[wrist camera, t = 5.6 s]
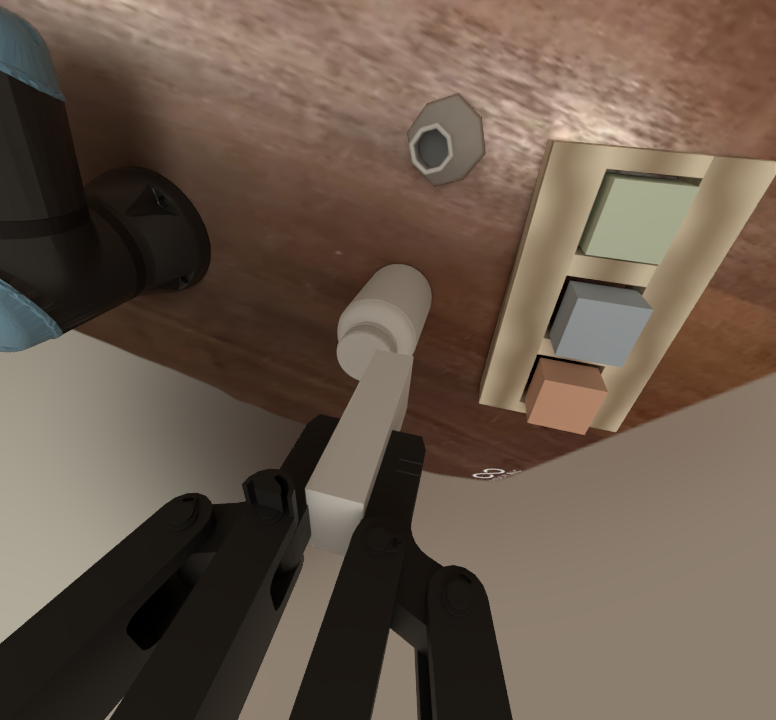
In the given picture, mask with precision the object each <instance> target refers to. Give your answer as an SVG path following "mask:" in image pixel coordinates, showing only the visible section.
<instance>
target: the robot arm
mask: <svg viewBox="0 0 776 720" xmlns="http://www.w3.org/2000/svg"><path fill="white" fill-rule="evenodd" d="M64 102H66V98H65V95H64V94H63V93H62V92H61V90H60V87H59V84H58V81H57V77H56V74H55V70H54V67H53V63H52V60H51V56H50V53H49V50H48V47H47V45H46V43H45V41H44V39H43V38H42V36H41V35H40V33H39V32H38V31H37V30H36V29H35V28H34V27H33V26H32V25H31V24H30V23H29V22H28V21H27V20H25V19H24V18H23V17H21V16H19V15H18V14H16V13H15V12H12V11H10V10H8V9H6V8H4V7H1V6H0V352H17V351H22V350H25V349H28V348H30V347H33V346H35V345H37V344H40V343H42V342H45V341H47V340H49V339H55V338H58V337H60V336H61V335H62V334H64V333H66V332H68V331H70V330H72V329H74V328H76V327H78V326H80V325H82V324H84V323H86V322H88V321H90V320H92V319H94V318H95V317H97V316H99V315H101V314H103V313H105V312H107V311H109V310H111V309H113V308H115V307H117V306H119V305H121V304H123V303H125V302H127V301H129V300H131V299H133V298H135V297H137V296H140V295H149V294H159V293H169V292H177V291H180V290H183V289H185V288H187V287H189V286H191V285H193V284H195V283H197V282H198V281H199V280H200V279H201V278H202V277H203V276H204V275H205V273H206V271H207V269H208V265H209V260H210V247H209V241H208V237H207V233H206V230H205V227H204V225H203V223H202V221H201V219H200V217H199V215H198V213H197V211H196V210H195V208H194V207H193V205H192V204H191V202H190V201H189V200H188V199H187V197H186V196H185V195H184V194H183V193H182V192H181V191H180V190H179V189H178V188H177V187H176V186H175V185H174V184H172V183H171V182H170V181H169V180H167V179H166V178H164V177H163V176H161V175H159V174H157V173H155V172H153V171H151V170H148V169H144V168H139V167H128V168H120V169H113V170H110V171H107V172H105V173H103V174H101V175H100V176H98V177H97V178H95V179H94V180H92V181H91V182H89V183H88V184H87V185H85V186H84V187H83V183H82V179H81V175H80V171H79V167H78V162H77V158H76V153H75V149H74V144H73V140H72V135H71V131H70V126H69V122H68V117H67V113H66V108H65V104H64ZM412 365H413V356H408V355H403V354H398V353H393V352H387V351H382V350H377V349H376V351H375V353H374V355H373V357H372V359H371V361H370V363H369V365H368V367H367V368H366V370H365V372H364V374H363V376H362V378H361V380H360V382H359V384H358V386H357V388H356V390H355V392H354V394H353V396H352V398H351V400H350V402H349V404H348V406H347V407H346V409H345V411H344V413H343V415H342V417H341V419H339V418H334V417H330V416H325V415H321V414H320V415H318V416H317V417H316V418H314V419H313V420H312V421H310V422H309V423H308V424H307V425H306V427H305V429H304V430H303V432H302V434H301V436H300V438H298V440H297V442H296V444H295V445H294V448H292V450H291V451H290V453H289V455H288V456H287V458H286V460H285V461H284V463H283V465H282V466H281V468H280V469H266V470H262V471H258V472H257V473H255V474H253V475H251V476H249V477H248V479H247V480H246V481H245V482H244V483H243V484H242V487H243V491H244V495H245V498H246V501H245V502H239V503H226V504H212V503H211V501H210V500H209V499H208V498H207V497H206V496H205V495H202V494H199V493H187V494H184V495H181V496H178V497H176V498H174V499H172V500H171V501H170V502H168V503H166V504H165V505H164V506H163V507H161V508H160V509H159V510H158V511H157V512H155V513H154V514H153V515H152V516H151V517H150V518H148V519H147V520H146V521H145V522H144V523H142V524H141V525H140V526H139V527H138V528H137V529H135V530H134V531H133V532H132V533H131V534H129V535H128V536H127V537H126V538H125V539H124V540H122V541H121V542H120V543H119V544H118V545H116V546H115V547H114V548H113V549H112V550H111V551H109V552H108V553H107V554H106V555H105V556H103V557H102V558H101V559H100V560H99V561H98V562H96V563H95V564H94V565H93V566H92V567H90V568H89V569H88V570H87V571H86V572H85V573H83V574H82V575H81V576H80V577H79V578H78V579H76V580H75V581H74V582H73V583H72V584H70V585H69V586H68V587H67V588H66V589H64V590H63V591H62V592H61V593H60V594H59V595H57V596H56V597H55V598H54V599H53V600H51V601H50V602H49V603H48V604H47V605H46V606H44V607H43V608H42V609H41V610H40V611H39V612H38V613H36V614H35V615H34V616H32V617H31V618H30V619H29V620H28V621H27V622H25V623H24V624H23V625H22V626H21V627H20V628H18V629H17V630H16V631H15V632H14V633H12V634H11V635H10V636H9V637H8V638H7V639H5V640H4V641H3V642H2V643H1V644H0V720H104V719H105V718H106V717H107V716H108V715H109V713H110V712H111V711H112V710H113V709H114V707H115V706H116V705H117V704H118V703H119V702H120V700H121V699H122V698H123V697H124V698H123V699H122V701H121V703H120V704H119V705H118V707H117V709H116V710H115V712H114V713H113V715H112V716H111V718H110V720H238V718H239V715H240V713H241V710H242V708H243V706H244V703H245V701H246V699H247V696H248V694H249V692H250V689H251V687H252V685H253V682H254V680H255V678H256V675H257V673H258V671H259V668H260V666H261V663H262V661H263V659H264V656H265V654H266V652H267V649H268V647H269V645H270V642H271V640H272V637H273V635H274V633H275V631H276V628H277V626H278V623H279V621H280V619H281V616H282V614H283V612H284V609H285V607H286V605H287V602H288V600H289V598H290V595H291V593H292V590H293V588H294V586H295V583H296V581H297V579H298V576H299V574H300V572H301V569H302V566H303V562H304V555H303V553H304V550H305V548H306V546H307V544H308V541H309V539H310V540H311V546H312V547H315V548H319V549H322V550H326V551H329V552H332V553H336V554H339V555H342V556H345V558H344V561H343V564H342V566H341V569H340V572H339V576H338V578H337V581H336V584H335V587H334V590H333V593H332V596H331V599H330V601H329V604H328V607H327V610H326V613H325V616H324V619H323V622H322V625H321V628H320V631H319V633H318V636H317V639H316V642H315V645H314V648H313V651H312V654H311V657H310V660H309V663H308V665H307V668H306V671H305V674H304V677H303V680H302V683H301V686H300V689H299V692H298V695H297V697H296V700H295V703H294V706H293V709H292V712H291V715H290V718H289V720H371V717H372V713H373V708H374V703H375V698H376V693H377V688H378V683H379V678H380V674H381V669H382V664H383V659H384V654H385V649H386V644H387V640H388V635H389V630H390V628H391V629H392V630H393V631H395V632H396V633H397V634H398V635H400V636H401V637H402V638H403V639H404V640H406V641H407V642H408V643H409V644H410V645H412V646H413V647H414V648H415V669H416V670H415V671H416V692H417V715H418V720H513V719H512V714H511V710H510V704H509V699H508V695H507V690H506V685H505V680H504V675H503V670H502V665H501V660H500V656H499V650H498V645H497V640H496V635H495V630H494V625H493V620H492V615H491V611H490V606H489V600H488V597H487V594H486V591H485V589H484V586H483V584H482V583H481V582H480V581H479V579H478V578H477V577H476V575H475V574H473V573H472V572H470V571H469V570H467V569H466V568H463V567H459V566H455V565H452V566H445V567H443V566H442V565H440V564H439V563H437V562H436V561H434V560H433V559H431V558H430V557H428V556H427V555H426V554H425V553H424V552H422V551H421V550H420V548H419V547H418V546H417V544H416V543H415V541H414V538H413V536H412V531H411V522H412V517H413V512H414V507H415V502H416V497H417V493H418V487H419V483H420V478H421V473H422V467H423V462H424V457H425V452H426V449H425V446H424V442H423V439H422V437H421V436H417V435H412V434H408V433H403V432H400V429H401V426H402V423H403V419H404V416H405V413H406V409H407V403H408V395H409V388H410V380H411V372H412Z"/></svg>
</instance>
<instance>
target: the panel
mask: <svg viewBox="0 0 776 720" xmlns="http://www.w3.org/2000/svg"><path fill="white" fill-rule="evenodd" d="M606 169H615V170H625V171H635V172H645V173H655V174H665V175H675V176H679V178H678V180H679V181H682V182H685V183H688V184H692V185H695V186H698V187H700V189H699V191H698V193H697V195H696V197H695V199H694V201H693V203H692V204H691V206H690V208H689V210H688V212H687V214H686V216H685V218H684V220H683V222H682V224H681V226H680V227H679V229H678V231H677V233H676V235H675V237H674V239H673V241H672V243H671V245H670V247H669V249H668V250H667V252H666V254H665V256H664V258H663V260H662V262H661V264H660V265H658V264H651V263H643V262H636V261H629V260H622V259H614V258H607V257H600V256H593V255H585V253H584V252H583V250H582V249H581V247H580V246H579V245H578V244H579V241H580V238H581V236H582V233H583V230H584V228H585V225H586V222H587V219H588V217H589V214H590V211H591V209H592V206H593V203H594V201H595V198H596V195H597V193H598V190H599V187H600V185H601V182H602V179H603V177H604V174H605V171H606ZM775 175H776V161H770V160H763V159H756V158H747V157H736V156H725V155H714V154H703V153H692V152H681V151H670V150H659V149H648V148H637V147H626V146H615V145H604V144H593V143H582V142H571V141H560V140H549V139H548V142H547V146H546V150H545V153H544V157H543V160H542V164H541V167H540V171H539V175H538V178H537V182H536V185H535V189H534V193H533V196H532V200H531V203H530V207H529V210H528V214H527V218H526V221H525V225H524V228H523V232H522V236H521V239H520V243H519V246H518V250H517V253H516V257H515V261H514V264H513V268H512V271H511V275H510V279H509V282H508V286H507V289H506V293H505V296H504V300H503V304H502V307H501V311H500V314H499V318H498V322H497V325H496V329H495V332H494V336H493V339H492V343H491V347H490V350H489V354H488V357H487V361H486V365H485V368H484V372H483V375H482V379H481V382H480V394H479V403H480V404H485V405H489V406H494V407H499V408H504V409H508V410H513V411H518V412H523V413H526V406H525V396H526V394H527V391H528V389H529V386H530V385H529V384H526V383H527V380H528V377H529V375H530V372H531V369H532V367H533V364H534V361H535V359H536V356H537V354H541V355H546V356H551V357H557V358H562V359H568V360H573V361H579V362H584V363H589V364H588V366H589V367H594V368H598V369H599V372H600V374H601V376H602V379H603V381H604V383H605V386H606V388H607V391H608V393H607V395H606V397H605V399H604V401H603V403H602V404H601V406H600V408H599V410H598V412H597V413H596V415H595V417H594V419H593V421H592V422H591V424H590V426H589V427H594V428H598V429H603V430H608V431H613V432H616V431H617V430H618V428H619V426H620V425H621V423H622V422H623V420H624V418H625V417H626V415H627V414H628V412H629V410H630V409H631V407H632V405H633V404H634V402H635V401H636V399H637V397H638V396H639V394H640V393H641V391H642V389H643V388H644V386H645V385H646V383H647V381H648V380H649V378H650V376H651V375H652V373H653V372H654V370H655V368H656V367H657V365H658V364H659V362H660V360H661V359H662V357H663V356H664V354H665V352H666V351H667V349H668V347H669V346H670V344H671V343H672V341H673V339H674V338H675V336H676V335H677V333H678V331H679V330H680V328H681V327H682V325H683V323H684V322H685V320H686V318H687V317H688V315H689V314H690V312H691V310H692V309H693V307H694V306H695V304H696V302H697V301H698V299H699V298H700V296H701V294H702V293H703V291H704V289H705V288H706V286H707V285H708V283H709V281H710V280H711V278H712V277H713V275H714V273H715V272H716V270H717V269H718V267H719V265H720V264H721V262H722V260H723V259H724V257H725V256H726V254H727V252H728V251H729V249H730V248H731V246H732V244H733V243H734V241H735V240H736V238H737V236H738V235H739V233H740V231H741V230H742V228H743V227H744V225H745V223H746V222H747V220H748V219H749V217H750V215H751V214H752V212H753V211H754V209H755V207H756V206H757V204H758V202H759V201H760V199H761V198H762V196H763V194H764V193H765V191H766V190H767V188H768V186H769V185H770V183H771V182H772V180H773V178H774V177H775ZM566 276H574V277H581V278H588V279H594V280H601V281H608V282H615V283H621V284H627V285H626V287H625V289H630V290H637V291H638V292H639V293H640V294H641V295H642V297H643V298H644V299H645V300H646V301H647V302H648V304H649V305H650V306H651V307H652V308H653V312H652V314H651V316H650V317H649V319H648V321H647V323H646V325H645V327H644V328H643V330H642V332H641V334H640V336H639V337H638V339H637V341H636V343H635V345H634V346H633V348H632V350H631V352H630V354H629V355H628V357H627V359H626V361H625V363H624V365H623V366H622V368H621V367H616V366H610V365H605V364H600V363H594V362H589V361H583V360H578V359H572V358H567V357H561V356H556V355H555V354H554V350H553V346H552V343H551V339H550V335H549V334H550V331H551V328H552V326H553V323H549V321H550V318H551V316H552V313H553V310H554V308H555V305H556V302H557V300H558V297H559V294H560V292H561V289H562V286H563V284H564V281H565V278H566Z"/></svg>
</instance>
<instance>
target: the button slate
mask: <svg viewBox="0 0 776 720" xmlns="http://www.w3.org/2000/svg"><path fill="white" fill-rule="evenodd" d="M652 312H653V308H652V307H651V306H650V305H649V304H648V302H647V301H646V300H645V299H644V298H643V297H642V295H641V294H640V293H639V292H638V291H637V290H630V289H624V288H617V287H610V286H604V285H597V284H590V283H584V282H577V281H569V284H568V287H567V289H566V292H565V294H564V297H563V300H562V302H561V305H560V308H559V310H558V313H557V315H556V318H555V321H554V323H553V326H552V328H551V331H550V334H549V335H550V339H551V343H552V346H553V350H554V354H555V355H556V356H561V357H567V358H572V359H578V360H583V361H589V362H594V363H600V364H605V365H610V366H616V367H621V368H622V366H623V365H624V363H625V361H626V359H627V357H628V355H629V354H630V352H631V350H632V348H633V346H634V345H635V343H636V341H637V339H638V337H639V336H640V334H641V332H642V330H643V328H644V327H645V325H646V323H647V321H648V319H649V317H650V316H651V314H652Z"/></svg>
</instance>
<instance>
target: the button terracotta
mask: <svg viewBox="0 0 776 720" xmlns="http://www.w3.org/2000/svg"><path fill="white" fill-rule="evenodd" d="M607 393H608V391H607V388H606V386H605V383H604V381H603V379H602V376H601V374H600V372H599V369H598V368H594V367H589V366H583V365H578V364H572V363H567V362H562V361H556V360H551V359H545V358H540V360H539V362H538V365H537V368H536V370H535V373H534V376H533V378H532V381H531V383H530V386H529V389H528V391H527V394H526V396H525V406H526V415H527V423H532V424H536V425H541V426H546V427H550V428H555V429H560V430H564V431H569V432H574V433H578V434H583V435H585V433H586V431H587V430H588V428H589V426H590V424H591V422H592V421H593V419H594V417H595V415H596V413H597V412H598V410H599V408H600V406H601V404H602V403H603V401H604V399H605V397H606V395H607Z"/></svg>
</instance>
